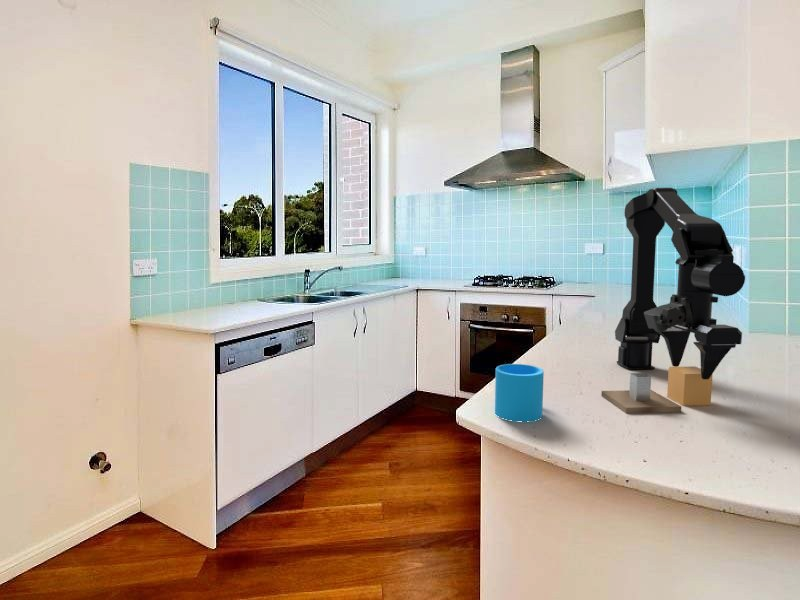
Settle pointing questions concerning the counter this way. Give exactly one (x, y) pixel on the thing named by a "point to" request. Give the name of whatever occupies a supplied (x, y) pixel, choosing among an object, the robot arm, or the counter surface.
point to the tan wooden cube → (689, 386)
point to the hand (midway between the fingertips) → (689, 372)
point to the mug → (519, 392)
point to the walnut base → (640, 402)
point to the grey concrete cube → (640, 386)
